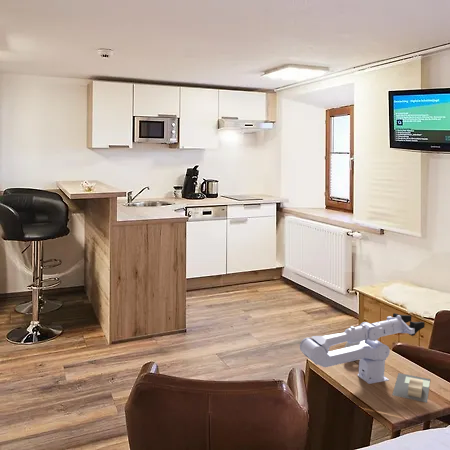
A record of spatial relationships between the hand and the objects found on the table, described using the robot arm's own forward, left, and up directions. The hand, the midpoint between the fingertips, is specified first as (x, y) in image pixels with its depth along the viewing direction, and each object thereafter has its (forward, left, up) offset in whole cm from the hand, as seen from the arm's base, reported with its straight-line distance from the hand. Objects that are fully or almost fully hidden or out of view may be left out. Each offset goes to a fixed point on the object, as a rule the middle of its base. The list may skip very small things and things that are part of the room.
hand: (417, 321), depth 193 cm
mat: (-10, -11, -22) cm, 26 cm away
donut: (-17, +17, -22) cm, 33 cm away
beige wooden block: (-12, -15, -21) cm, 28 cm away
